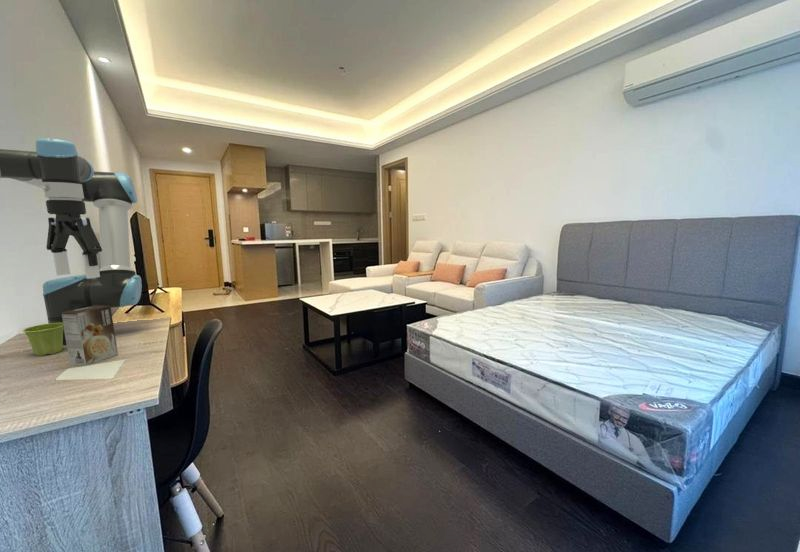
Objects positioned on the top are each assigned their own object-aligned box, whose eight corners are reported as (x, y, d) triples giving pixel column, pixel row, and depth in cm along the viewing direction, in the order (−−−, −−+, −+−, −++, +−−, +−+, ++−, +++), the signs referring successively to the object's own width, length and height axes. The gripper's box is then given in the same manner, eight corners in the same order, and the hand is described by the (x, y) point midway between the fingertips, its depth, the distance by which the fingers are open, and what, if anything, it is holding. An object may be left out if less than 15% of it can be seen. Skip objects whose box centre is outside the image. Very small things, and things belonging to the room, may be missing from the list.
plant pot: (77, 347, 110) (73, 322, 109) (47, 358, 101) (42, 331, 100) (50, 347, 111) (46, 322, 109) (18, 358, 101) (13, 331, 100)
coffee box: (102, 353, 104) (95, 304, 102) (118, 354, 103) (111, 305, 101) (68, 365, 96) (60, 312, 93) (86, 366, 94) (77, 312, 92)
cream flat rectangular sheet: (67, 370, 92) (66, 368, 92) (125, 360, 98) (125, 359, 98) (37, 398, 77) (36, 396, 76) (109, 385, 83) (109, 383, 83)
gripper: (20, 199, 90) (34, 275, 93) (76, 198, 81) (89, 281, 85) (56, 201, 97) (68, 271, 100) (111, 199, 88) (122, 276, 92)
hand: (78, 276), depth 93 cm, fingers open, 13 cm apart
